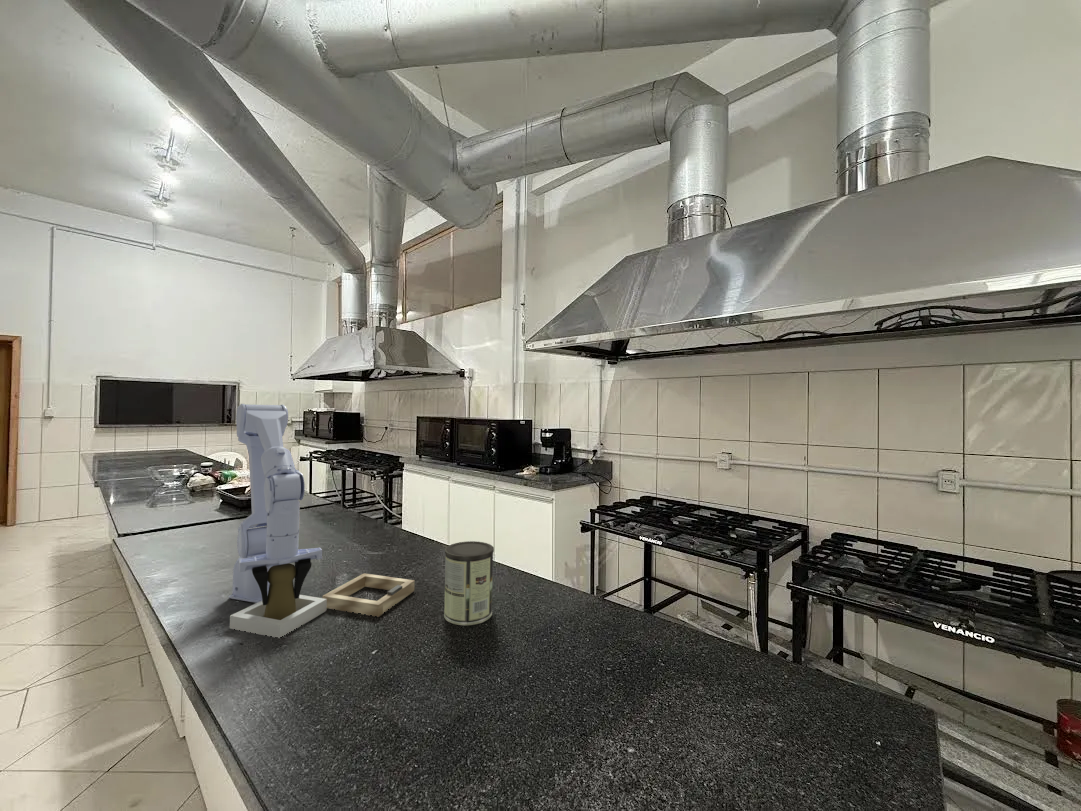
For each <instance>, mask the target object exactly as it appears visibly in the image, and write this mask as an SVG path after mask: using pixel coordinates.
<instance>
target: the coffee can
mask: <svg viewBox="0 0 1081 811" xmlns="http://www.w3.org/2000/svg"><path fill="white" fill-rule="evenodd" d="M494 551H495V547H494V546H493V545H491V544H490V543H487V542H484V541H473V540H472V541H471V540H469V541H460V542H455V543H452V544H449V545H447V546H446V547H445V549H444V555H445V562H444V565H445V568H444V571H445V572H444V611H443V612H444V614H443V618H444V619H445V621H447V622H448V623H451V624H453V625H458V626H475V625H479V624H482V623H485V622H486V621H488V620H490V618H491V617H492V615H493V578H494V576H493V572H494V568H493V567H494Z"/></svg>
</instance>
